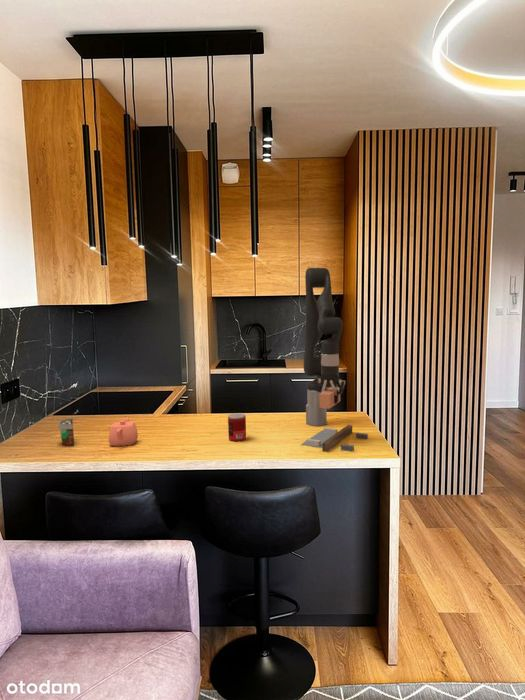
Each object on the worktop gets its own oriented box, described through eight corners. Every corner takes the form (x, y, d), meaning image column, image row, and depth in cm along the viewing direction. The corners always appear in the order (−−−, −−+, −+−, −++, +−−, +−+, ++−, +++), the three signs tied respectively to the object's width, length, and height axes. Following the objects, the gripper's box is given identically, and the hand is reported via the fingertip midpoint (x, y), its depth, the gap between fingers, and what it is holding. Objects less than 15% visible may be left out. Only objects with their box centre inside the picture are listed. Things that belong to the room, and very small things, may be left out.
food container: (59, 440, 234) (57, 419, 232) (74, 438, 236) (72, 417, 234) (59, 448, 222) (57, 426, 221) (74, 446, 224) (72, 424, 223)
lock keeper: (301, 444, 219) (301, 439, 219) (321, 431, 238) (321, 426, 238) (322, 448, 214) (322, 442, 214) (341, 434, 233) (341, 429, 233)
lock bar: (319, 407, 217) (319, 393, 216) (330, 400, 230) (330, 387, 229) (329, 408, 215) (329, 394, 214) (340, 401, 228) (340, 387, 227)
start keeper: (340, 449, 211) (340, 445, 211) (357, 436, 228) (357, 432, 228) (352, 451, 209) (352, 446, 208) (367, 438, 226) (367, 433, 226)
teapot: (105, 449, 219) (103, 426, 217) (116, 437, 237) (115, 415, 235) (132, 449, 219) (131, 425, 218) (141, 436, 237) (140, 414, 235)
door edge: (322, 451, 210) (322, 443, 209) (348, 432, 236) (348, 424, 235) (326, 452, 209) (326, 443, 208) (352, 432, 235) (352, 425, 234)
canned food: (249, 438, 230) (248, 414, 229) (239, 442, 224) (239, 418, 222) (235, 435, 234) (234, 412, 233) (225, 440, 228) (224, 416, 226)
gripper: (348, 363, 220) (348, 402, 222) (317, 361, 227) (318, 399, 229) (343, 366, 213) (342, 406, 216) (311, 364, 220) (311, 402, 223)
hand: (330, 402), depth 222 cm, fingers closed on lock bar, 4 cm apart
